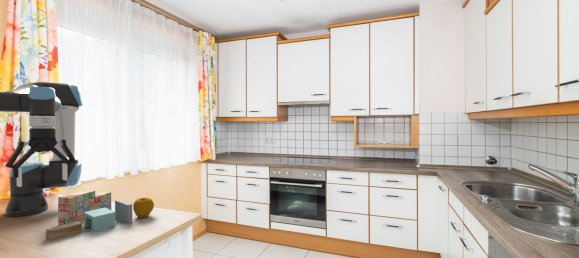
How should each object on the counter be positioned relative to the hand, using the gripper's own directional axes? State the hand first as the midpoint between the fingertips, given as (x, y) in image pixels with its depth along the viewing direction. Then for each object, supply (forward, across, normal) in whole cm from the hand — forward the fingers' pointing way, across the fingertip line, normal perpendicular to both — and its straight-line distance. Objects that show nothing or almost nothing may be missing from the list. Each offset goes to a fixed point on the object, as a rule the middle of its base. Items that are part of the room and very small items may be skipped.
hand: (43, 183), depth 107 cm
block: (+20, +17, -6) cm, 27 cm away
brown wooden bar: (+21, +5, -6) cm, 22 cm away
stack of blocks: (+21, +18, +11) cm, 30 cm away
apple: (+21, +34, -10) cm, 41 cm away
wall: (+20, +26, -7) cm, 34 cm away
